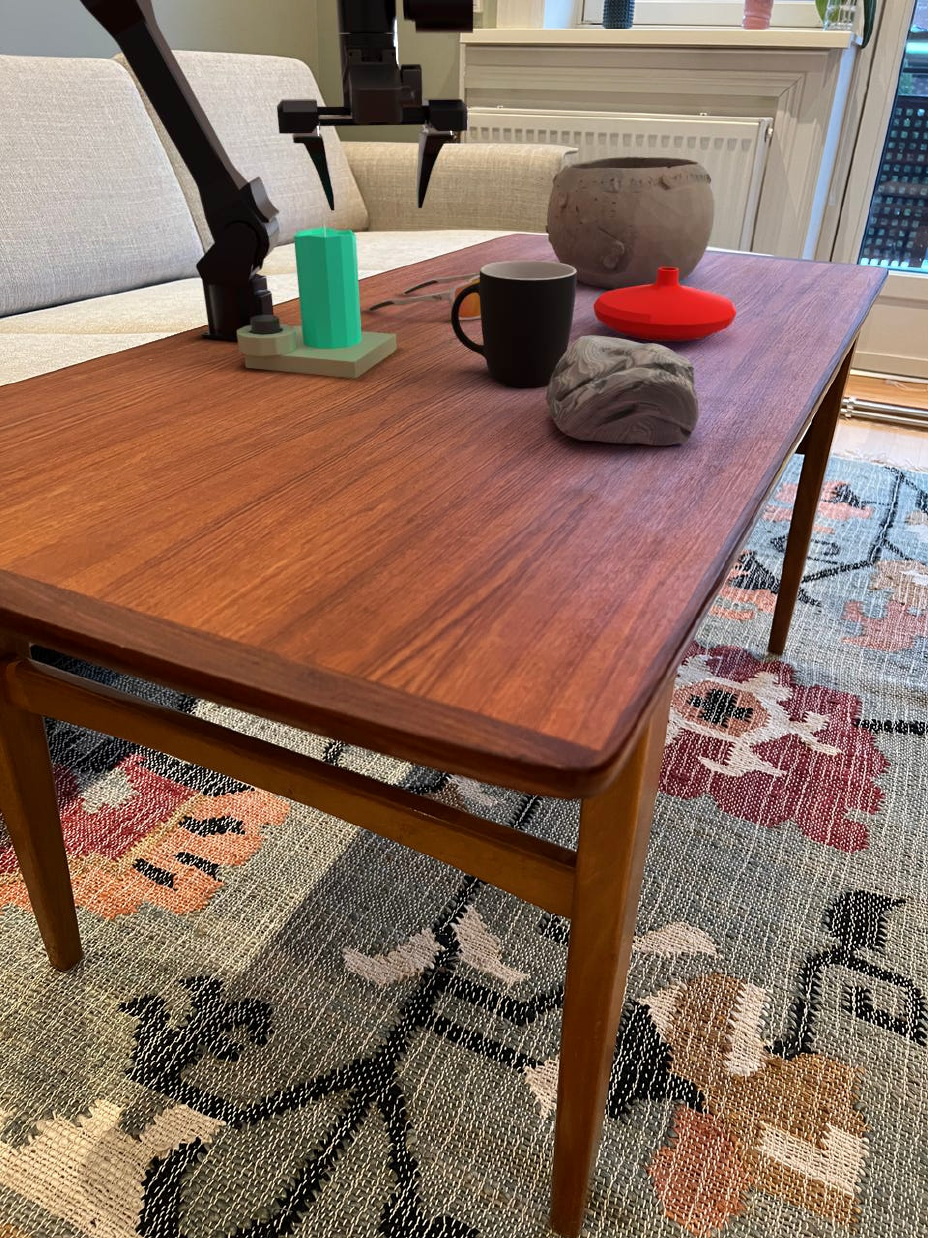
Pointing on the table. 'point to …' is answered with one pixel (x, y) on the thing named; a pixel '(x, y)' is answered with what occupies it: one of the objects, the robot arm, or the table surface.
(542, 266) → the mug
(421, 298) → the sunglasses
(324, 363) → the khaki base plate
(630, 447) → the table surface
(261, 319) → the button
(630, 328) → the red vase
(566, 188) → the bowl
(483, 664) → the table surface
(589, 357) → the decorative stone
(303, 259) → the candle
